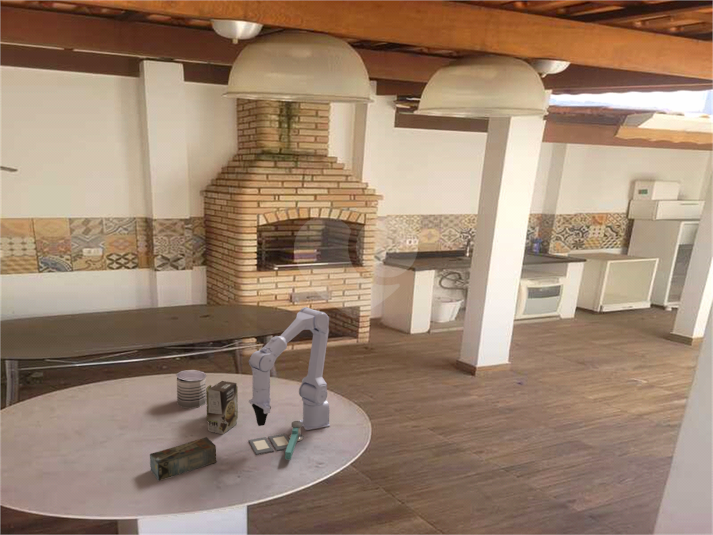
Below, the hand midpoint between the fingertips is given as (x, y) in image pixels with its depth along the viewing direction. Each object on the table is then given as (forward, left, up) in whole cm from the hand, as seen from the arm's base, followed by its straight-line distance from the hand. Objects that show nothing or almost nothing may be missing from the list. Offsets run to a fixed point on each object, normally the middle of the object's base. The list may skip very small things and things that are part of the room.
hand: (261, 424), depth 188 cm
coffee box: (+9, -18, -8) cm, 22 cm away
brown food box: (+8, -26, -8) cm, 28 cm away
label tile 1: (0, 0, -8) cm, 8 cm away
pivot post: (-13, -1, -8) cm, 15 cm away
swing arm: (-9, +6, -6) cm, 13 cm away
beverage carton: (+26, +3, -8) cm, 27 cm away
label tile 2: (-7, 0, -8) cm, 11 cm away
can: (+16, -44, -8) cm, 48 cm away
